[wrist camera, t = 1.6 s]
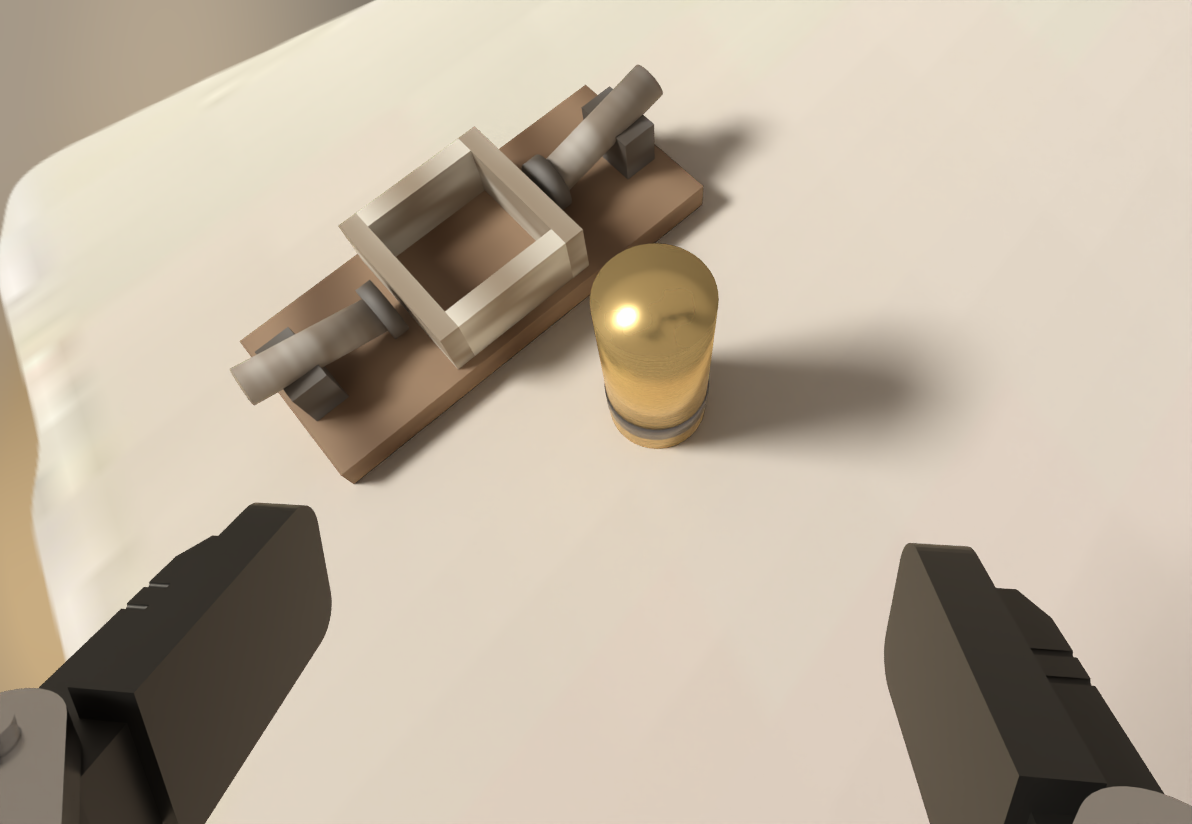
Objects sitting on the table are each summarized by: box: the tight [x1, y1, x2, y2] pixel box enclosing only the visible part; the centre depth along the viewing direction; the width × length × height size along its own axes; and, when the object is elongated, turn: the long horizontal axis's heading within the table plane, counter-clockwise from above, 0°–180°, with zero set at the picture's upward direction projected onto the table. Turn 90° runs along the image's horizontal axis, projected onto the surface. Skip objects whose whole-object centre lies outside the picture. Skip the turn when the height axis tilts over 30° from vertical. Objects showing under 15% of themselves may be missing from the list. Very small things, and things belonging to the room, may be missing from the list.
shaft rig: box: [230, 65, 703, 484], centre depth 36 cm, size 24×9×6 cm, turn 131°
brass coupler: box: [590, 243, 719, 449], centre depth 31 cm, size 4×4×10 cm
